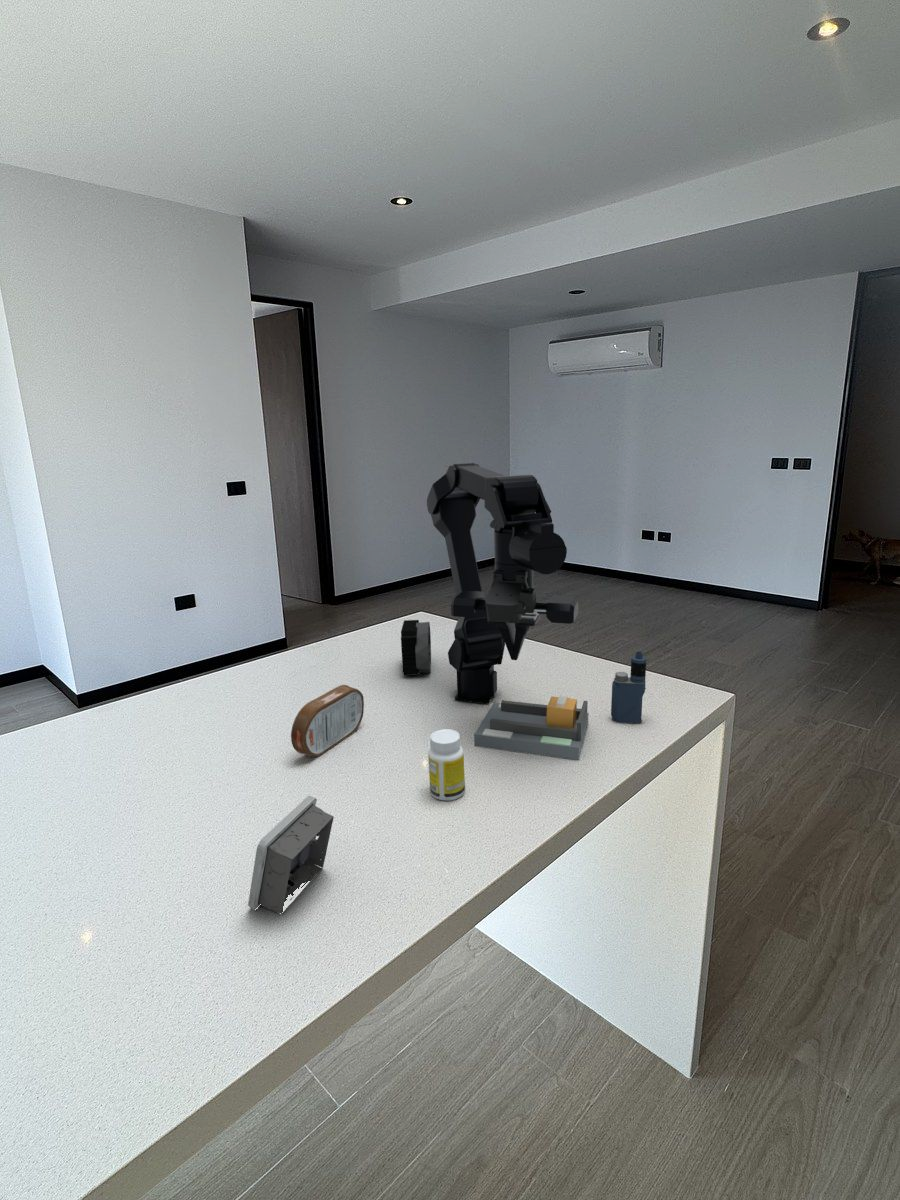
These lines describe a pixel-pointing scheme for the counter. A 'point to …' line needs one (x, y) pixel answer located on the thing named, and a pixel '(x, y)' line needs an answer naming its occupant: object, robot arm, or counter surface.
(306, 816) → the electrical switch
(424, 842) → the counter surface
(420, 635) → the cpu cooler
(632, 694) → the vaping device
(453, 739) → the supplement bottle
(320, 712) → the tin
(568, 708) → the block
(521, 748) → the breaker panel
